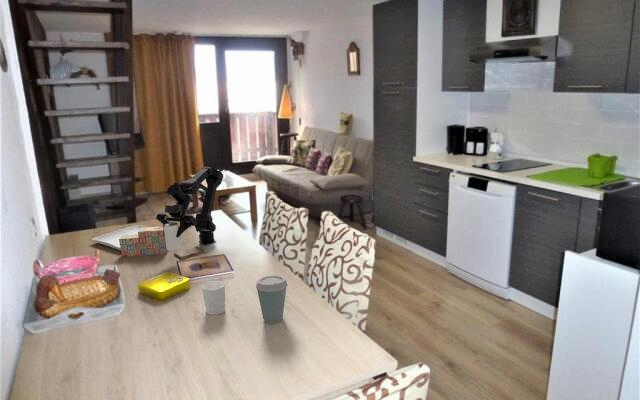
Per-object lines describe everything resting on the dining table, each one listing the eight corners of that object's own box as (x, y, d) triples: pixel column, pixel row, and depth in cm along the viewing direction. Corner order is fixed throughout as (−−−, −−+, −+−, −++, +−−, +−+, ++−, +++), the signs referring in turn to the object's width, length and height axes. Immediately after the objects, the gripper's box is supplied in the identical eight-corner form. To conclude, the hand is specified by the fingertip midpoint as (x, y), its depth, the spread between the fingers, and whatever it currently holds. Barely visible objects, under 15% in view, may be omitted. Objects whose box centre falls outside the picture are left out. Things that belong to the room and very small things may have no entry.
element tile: (169, 280, 192) (167, 269, 191) (192, 288, 183) (191, 277, 182) (137, 294, 180) (135, 282, 179) (160, 303, 172) (158, 291, 171)
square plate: (137, 230, 260) (137, 223, 259) (167, 238, 245) (166, 231, 244) (91, 244, 239) (90, 237, 238) (121, 254, 224) (119, 246, 223)
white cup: (231, 306, 166) (228, 281, 164) (219, 317, 159) (217, 291, 156) (212, 304, 169) (209, 279, 166) (200, 314, 162) (197, 288, 159)
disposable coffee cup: (254, 315, 159) (251, 276, 155) (283, 308, 163) (281, 269, 159) (263, 330, 150) (260, 288, 146) (294, 322, 154) (291, 281, 150)
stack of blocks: (121, 257, 219) (117, 233, 216) (125, 252, 225) (121, 228, 222) (167, 254, 221) (163, 229, 218) (169, 249, 227) (166, 225, 224)
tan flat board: (196, 248, 227) (196, 245, 226) (204, 252, 221) (204, 249, 221) (174, 254, 219) (173, 252, 219) (181, 259, 213) (181, 256, 213)
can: (168, 247, 210) (165, 222, 207) (182, 246, 211) (179, 221, 208) (165, 252, 204) (161, 226, 201) (179, 251, 205) (176, 225, 201)
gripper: (155, 196, 208) (143, 227, 201) (191, 198, 202) (179, 229, 195) (168, 208, 217) (156, 238, 210) (202, 210, 211) (191, 240, 204)
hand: (170, 236), depth 204 cm, fingers closed on can, 6 cm apart
